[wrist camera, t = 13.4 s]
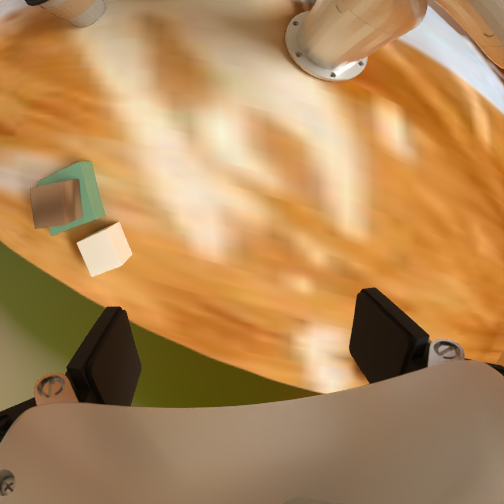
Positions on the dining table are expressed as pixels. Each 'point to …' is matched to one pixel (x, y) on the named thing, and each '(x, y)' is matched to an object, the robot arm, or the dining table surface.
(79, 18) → the coffee cup
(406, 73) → the dining table surface
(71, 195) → the walnut cube
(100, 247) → the cream cube
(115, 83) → the dining table surface
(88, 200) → the green base
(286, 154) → the dining table surface
